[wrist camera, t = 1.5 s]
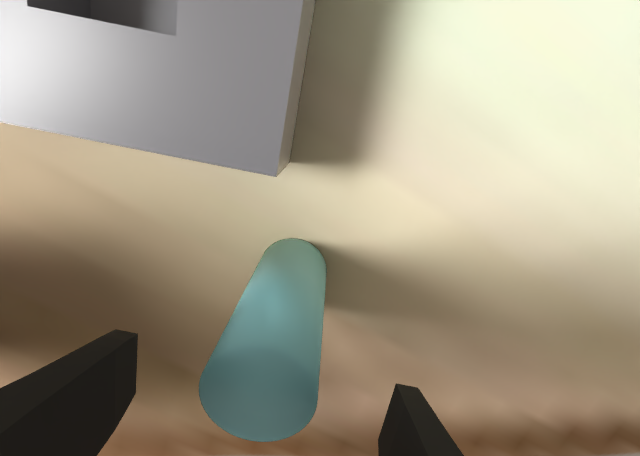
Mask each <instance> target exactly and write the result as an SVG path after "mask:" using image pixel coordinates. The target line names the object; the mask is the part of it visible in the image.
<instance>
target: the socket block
mask: <svg viewBox="0 0 640 456" xmlns="http://www.w3.org/2000/svg"><path fill="white" fill-rule="evenodd" d="M315 1H316V0H0V122H1V123H6V124H11V125H16V126H21V127H26V128H31V129H36V130H41V131H47V132H52V133H57V134H62V135H67V136H72V137H77V138H82V139H87V140H92V141H97V142H102V143H107V144H112V145H117V146H122V147H127V148H132V149H138V150H143V151H148V152H153V153H158V154H163V155H168V156H173V157H178V158H183V159H188V160H193V161H198V162H203V163H208V164H213V165H218V166H223V167H228V168H234V169H239V170H244V171H249V172H254V173H259V174H264V175H269V176H274V177H277V176H278V174H279V173H280V172H281V171H282V170H283V169H284V168H285V167H286V166H287V164H288V163H289V161H290V155H291V149H292V143H293V136H294V130H295V124H296V118H297V112H298V106H299V100H300V93H301V87H302V81H303V75H304V69H305V63H306V57H307V50H308V44H309V38H310V32H311V26H312V20H313V14H314V7H315Z"/></svg>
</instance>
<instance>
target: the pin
mask: <svg viewBox="0 0 640 456" xmlns="http://www.w3.org/2000/svg"><path fill="white" fill-rule="evenodd" d="M326 273H327V268H326V263H325V260H324V258H323V256H322V254H321V253H320V251H319V250H318V249H317V248H316V247H315V246H313V245H312V244H310V243H308V242H306V241H304V240H300V239H283V240H280V241H277V242H275V243H274V244H272V245H271V246H270V247H269V248H268V249H267V250H266V251H265V252H264V254H263V256H262V258H261V260H260V262H259V264H258V266H257V267H256V269H255V271H254V273H253V275H252V277H251V279H250V281H249V283H248V285H247V287H246V289H245V291H244V293H243V295H242V297H241V299H240V300H239V302H238V304H237V306H236V308H235V310H234V312H233V314H232V316H231V318H230V320H229V322H228V324H227V326H226V328H225V330H224V332H223V334H222V335H221V337H220V339H219V341H218V343H217V345H216V347H215V349H214V351H213V353H212V355H211V357H210V359H209V361H208V363H207V365H206V367H205V368H204V370H203V372H202V375H201V378H200V382H199V396H200V400H201V403H202V406H203V408H204V410H205V411H206V413H207V414H208V416H209V417H210V418H211V419H212V421H213V422H215V423H216V424H217V425H218V426H219V427H220V428H222V429H223V430H225V431H226V432H228V433H230V434H232V435H234V436H236V437H239V438H242V439H246V440H250V441H258V442H269V441H277V440H281V439H285V438H288V437H290V436H292V435H294V434H296V433H298V432H299V431H300V430H302V429H303V428H304V427H305V426H306V425H307V424H308V423H309V422H310V420H311V419H312V417H313V415H314V413H315V410H316V407H317V400H318V386H319V372H320V358H321V344H322V330H323V315H324V301H325V287H326Z"/></svg>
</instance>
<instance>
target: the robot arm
mask: <svg viewBox="0 0 640 456" xmlns="http://www.w3.org/2000/svg"><path fill="white" fill-rule="evenodd" d="M137 340H138V334H136V333H131V332H126V331H121V330H114V331H112V332H110V333H108V334H106V335H104V336H102V337H100V338H98V339H96V340H94V341H92V342H90V343H88V344H87V345H85V346H83V347H81V348H79V349H77V350H75V351H73V352H72V353H70V354H68V355H66V356H64V357H62V358H60V359H58V360H56V361H54V362H52V363H50V364H48V365H47V366H45V367H43V368H41V369H39V370H37V371H35V372H33V373H31V374H29V375H27V376H25V377H23V378H21V379H19V380H17V381H15V382H12V383H10V384H8V385H6V386H4V387H2V388H0V456H97V455H98V453H99V452H100V450H101V449H102V448H103V446H104V445H105V443H106V442H107V441H108V439H109V438H110V436H111V435H112V433H113V432H114V431H115V429H116V427H117V425H118V424H119V422H120V420H121V419H122V417H123V415H124V413H125V412H126V410H127V408H128V406H129V404H130V403H131V401H132V399H133V397H134V395H135V393H136V369H137ZM378 448H379V456H464V455H463V454H462V452H461V451H460V450H459V448H458V447H457V445H456V444H455V442H454V441H453V440H452V438H451V437H450V435H449V434H448V432H447V431H446V429H445V428H444V426H443V425H442V423H441V422H440V420H439V419H438V417H437V416H436V414H435V413H434V411H433V410H432V408H431V407H430V405H429V404H428V402H427V401H426V399H425V398H424V396H423V395H422V393H421V392H420V390H419V389H418V388H416V387H411V386H406V385H401V384H396V385H395V389H394V392H393V395H392V398H391V401H390V404H389V407H388V411H387V414H386V417H385V420H384V423H383V426H382V429H381V432H380V436H379V439H378Z"/></svg>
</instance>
